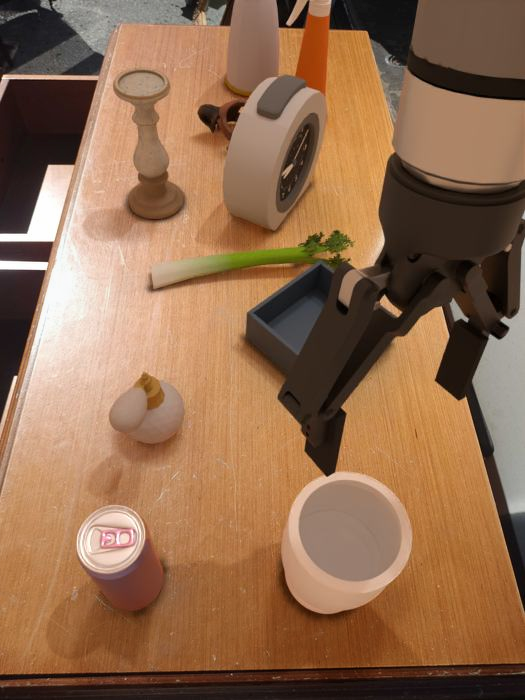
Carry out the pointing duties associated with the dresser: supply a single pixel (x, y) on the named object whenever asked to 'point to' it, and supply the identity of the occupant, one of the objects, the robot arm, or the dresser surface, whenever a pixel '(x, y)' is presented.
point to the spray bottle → (313, 43)
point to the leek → (250, 259)
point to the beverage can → (120, 556)
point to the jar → (344, 542)
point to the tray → (290, 315)
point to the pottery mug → (221, 116)
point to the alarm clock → (273, 150)
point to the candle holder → (149, 144)
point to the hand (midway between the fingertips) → (388, 423)
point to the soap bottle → (252, 45)
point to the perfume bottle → (148, 410)
